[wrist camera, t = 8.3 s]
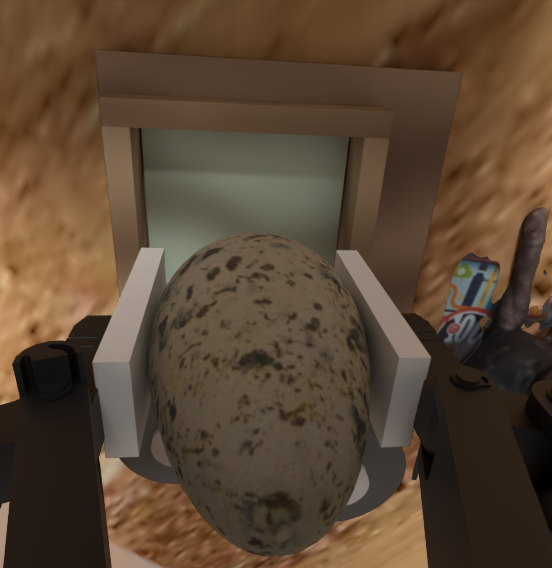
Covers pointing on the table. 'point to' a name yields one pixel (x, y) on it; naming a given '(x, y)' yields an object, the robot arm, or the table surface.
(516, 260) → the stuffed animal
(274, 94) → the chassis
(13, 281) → the table surface
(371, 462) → the wheel
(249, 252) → the decorative egg
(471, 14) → the table surface
